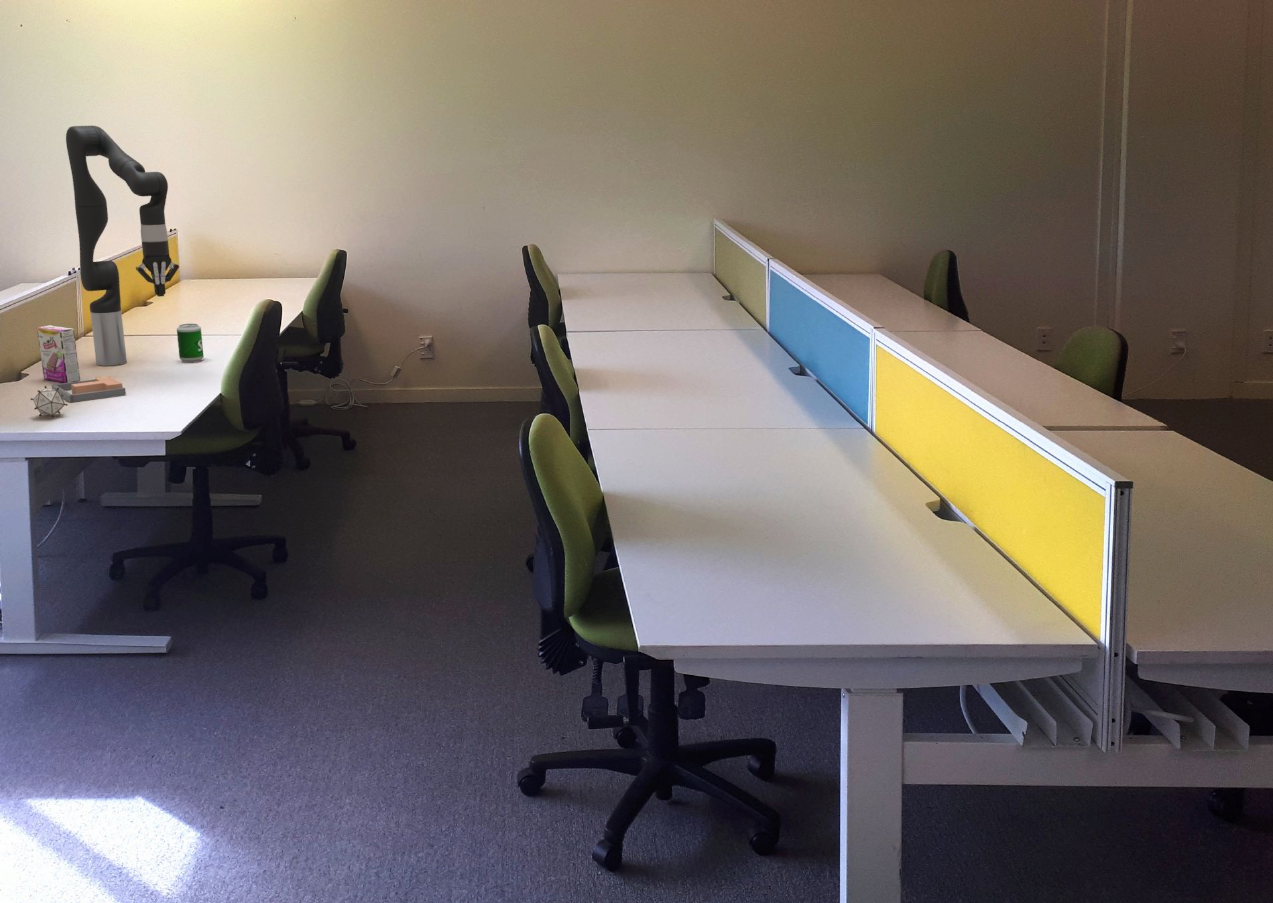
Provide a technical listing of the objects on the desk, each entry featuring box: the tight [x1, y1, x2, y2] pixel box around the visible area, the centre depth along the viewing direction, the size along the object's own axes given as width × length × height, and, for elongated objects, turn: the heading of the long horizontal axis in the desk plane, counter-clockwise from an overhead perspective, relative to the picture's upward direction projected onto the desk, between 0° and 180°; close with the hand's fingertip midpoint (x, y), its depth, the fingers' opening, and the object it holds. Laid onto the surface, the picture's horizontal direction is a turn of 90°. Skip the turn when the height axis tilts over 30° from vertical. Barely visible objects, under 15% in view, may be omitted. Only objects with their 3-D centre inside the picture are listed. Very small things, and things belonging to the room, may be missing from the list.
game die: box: [30, 385, 69, 419], centre depth 330 cm, size 9×8×10 cm
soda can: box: [176, 323, 204, 364], centre depth 401 cm, size 8×8×12 cm
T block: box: [71, 376, 124, 395], centre depth 358 cm, size 12×12×3 cm
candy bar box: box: [36, 324, 81, 384], centre depth 371 cm, size 11×5×16 cm, turn 62°
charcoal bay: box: [51, 378, 127, 403], centre depth 357 cm, size 18×16×2 cm
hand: (160, 296), depth 374 cm, fingers closed
